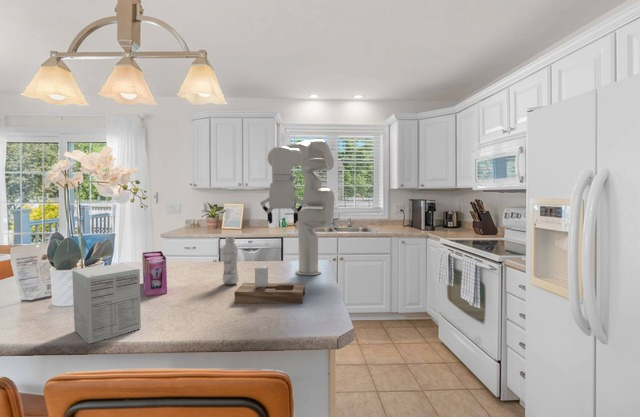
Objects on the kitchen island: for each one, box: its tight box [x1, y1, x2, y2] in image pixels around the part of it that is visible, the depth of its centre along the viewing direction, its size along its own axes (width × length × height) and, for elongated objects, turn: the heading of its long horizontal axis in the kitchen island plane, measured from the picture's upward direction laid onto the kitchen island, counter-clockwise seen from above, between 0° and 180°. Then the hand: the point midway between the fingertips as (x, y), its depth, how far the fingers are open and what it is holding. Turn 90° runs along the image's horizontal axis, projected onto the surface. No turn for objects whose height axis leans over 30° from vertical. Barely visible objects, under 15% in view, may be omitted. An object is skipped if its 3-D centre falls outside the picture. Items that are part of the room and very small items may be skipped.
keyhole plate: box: [234, 282, 306, 305], centre depth 125 cm, size 12×24×4 cm, turn 88°
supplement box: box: [71, 263, 142, 345], centre depth 95 cm, size 13×13×18 cm
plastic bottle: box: [221, 236, 240, 286], centre depth 144 cm, size 6×7×20 cm
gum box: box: [141, 250, 168, 297], centre depth 138 cm, size 24×8×14 cm, turn 30°
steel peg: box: [254, 265, 269, 289], centre depth 125 cm, size 4×4×12 cm
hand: (282, 223), depth 132 cm, fingers open, 9 cm apart
